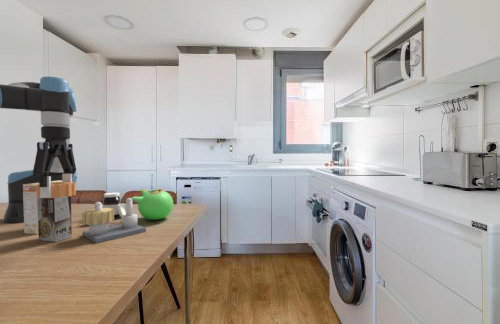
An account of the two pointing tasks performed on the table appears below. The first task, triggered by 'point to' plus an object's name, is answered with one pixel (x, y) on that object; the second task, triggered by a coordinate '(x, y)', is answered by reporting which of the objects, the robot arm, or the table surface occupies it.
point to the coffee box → (54, 218)
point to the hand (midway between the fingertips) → (57, 194)
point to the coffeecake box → (31, 208)
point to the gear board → (102, 216)
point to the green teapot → (154, 204)
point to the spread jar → (114, 204)
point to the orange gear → (60, 189)
